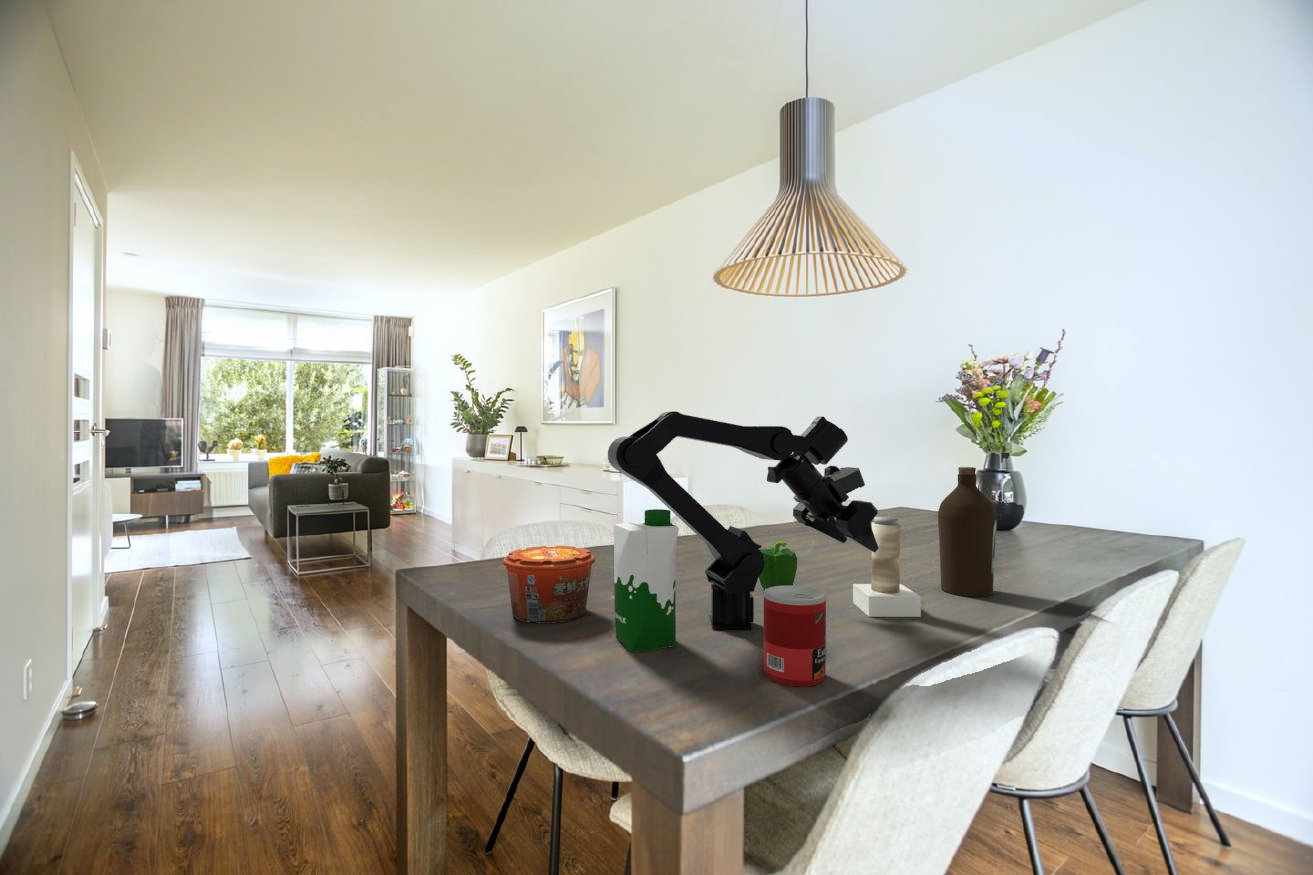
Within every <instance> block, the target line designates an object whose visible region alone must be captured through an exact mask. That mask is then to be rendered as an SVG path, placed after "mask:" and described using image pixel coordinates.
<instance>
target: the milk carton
mask: <svg viewBox="0 0 1313 875" xmlns="http://www.w3.org/2000/svg"><path fill="white" fill-rule="evenodd" d="M671 512H672V511H671V510H670V509H663V508H661V509H659V508H658V509H657V508H654V509H646V510H644V521H628V522H622V523H620V522H619V523H613V550H614V551H613V553H614V554H613V555H614V556H613V560H614V564H613V566H614V567H613V568H614V570H613V572H614V575H613V576H614V578H613V579H614V580H613V581H614V583H613V585H614V586H613V588H614V590H613V592H614V624H615V639H616V638H617V639H616V640H617V641H618V642H620V643H621V642H622V643H623V644H624V645H625V646H626V647H627V648H628V649H627V648H626V647H625V646H624V645H623V644H622V643H621V644H622V645H623V646H624V647H625V648H626V649H627V650H628V651H629V652H630V653H632V652H633V653H638V652H639V653H640V652H646V651H651V650H658V648H660V649H664V648H663V647H666V648H670V647H669V646H673V647H676V646H677V631H676V630H677V627H676V626H677V621H676V618H677V617H676V616H677V615H676V614H677V613H676V611H677V610H676V551H677V545H678V544H677V543H678V537H679V536H678V535H679V530H680V527H678V526H676V525H675V524H673V523H671V522H672V521H671V520H672V519H671V517H672V515H671Z"/></svg>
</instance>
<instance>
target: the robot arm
mask: <svg viewBox="0 0 1313 875" xmlns="http://www.w3.org/2000/svg"><path fill="white" fill-rule="evenodd" d="M676 438H683V439H688V440H694V441H699V442H704V443H710V444H715V445H721V446H727V447H732V448H734V449H738V450H739V451H741V452H744V453H745V454H748V455H749V456H753V457H756V458H758V459H761V460H768V461H769V460H770V461H779V462H778V463H777V464H776V465H775V466H768V467H767V475H766V482H767V483H773V484H780V482H781V481H783V483H784V484H785V485H786V486H787V487H788V489H789V490H790V491H791V492H792V493H793V494H794V496H793V497H792V499H793V500H794V501H795V502H796V505H795V506H794V508H792V517H794V519H795V520H796V521H797V522H798V523H799V524H803V525H804V527H807V528H810V529H812V530H814V531H816V532H819V533H821V534H823V535H825V536H827V537H829V538H831V539H832V540H835V541H838V542H840V543H842V544H845V543H846V542H847V541H848V540H850V541H852V542H854V543H856V544H858V545H859V546H861V547H863V548H865V549H866V550H869V551H870V552H871V553H872V552H876V551H877V550H878V548H879V547H878V545H877V542H876V539H875V536H874V534H873V531H872V521H874V517H877V515H879V509H878V508H877V507H876V506H875V505H874V504H873V503H872V501H864V500H859V499H858V500H856V499H855V500H851V501H850V502H849V504H848V505H844V504H843V503H846V501H847V500H848V499H849V498H850V496H849V495H848V494H850V493H852V492H853V491H855V490H858V489H859V488H863V487H864V486H866V484H865V480H864V477H863V475H862V472H861V470H860V468H859V467H851V466H846V467H840V468H839V467H838V466H837V465H829V466H826V467H825V468H824V470H823V473H824V475H823V474H821V472H820V471H819V470H818V468H816V467H815V465H816V466H818V465H820V464H821V465H824V466H825V465H827V464H828V463H829V462H830V461H831V460H832V459H833V458H834V457H835V456H836V454H838V452H839V451H840V450H841V449H842V448H843V447H844V446H845V445H846V444H847V442H848V440H849V438H848V435H847V434H846V432H845V431H844V430H843V429H842V428H840V427H838V425H836V424H835V423H833V422H832V421H829V420H827V418H826V417H825V416H824V415H823V416H816V417H815V418H814V419H813V420H812V422H811V423H810V425H809V426H808V427H807V428H806V429H805V430H804V431H803V432H802V433H801V434H800V435H799V434H798V435H797V434H793V433H792V430H791V429H790V428H788V427H786V426H780V425H777V426H775V425H774V426H773V425H763V426H762V425H757V426H755V425H751V426H750V425H747V426H746V425H740V424H733V423H730V422H724V421H720V420H719V421H718V420H714V419H710V418H704V417H699V416H693V415H688V414H683V413H681V412H679V411H666V412H662V413H661V414H660V415H658V417H656V418H655V419H654V420H652V421H651V422H649V423H647V424H645V426H643V427H641V428H639V429H638V430H636V431H635V432H632V434H630V435H629V436H620V437H617V438H615V440H613V441H612V442H611V443H610V445H609V447H608V451H607V460H608V463H609V464H610V465H611V467H612V468H613V469H615V470H616V471H618V472H620V473H621V474H623V475H624V476H626V477H627V478H629V479H631V480H632V481H634V482H635V483H637V484H639V485H640V486H642V487H644V488H646V489H647V490H648V491H650V493H652V494H653V495H654V496H655V497H656V498H657V499H658V500H659V501H660V502H661V503H663V505H665V507H667V509H668V510H670V511H671V512H672V513H673V514H674V515H675V516H676V517H677V518H678V519H680V520H681V521H682V522H683V523H684V525H686V526H687V527H688V529H690V530H691V531H692V532H694V534H696V535H697V536H698V537H699V538H700V539H701V540H702V541H703V542H704V543H705V545H706V546H707V548H708V550H709V552H710V553H711V555H712V558H714V561H712V562H711V563H710V564H709V566H708V567H707V568H706V569H705V571H704V574H705V576H706V579H707V581H708V583H711V584H710V614H709V621H710V625H711V628H712V629H714V630H752V629H753V625H752V623H754V620H755V608H754V607H755V602H754V601H755V598H754V596H753V595H752V594H751V593H753V592H754V591H755V589H756V586H757V583H758V580H759V576H760V575H761V573H762V571H763V569H764V565H765V557H764V554H763V553H762V552H761V551H760V550H759V549H762V545H761V544H759V543H756V542H755V541H754V540H753V538H751V536H750V535H749V533H748V532H747V531H746V530H744V529H741V528H738V527H734V526H733V525H730V526H729V527H728V528H726V527H725V526H724V525H722V523H720V522H719V520H717V519H716V518H715V517H714V515H712V514H711V513H710V511H708V510H707V509H706V508H704V506H702V505H701V503H699V502H698V501H697V500H696V499H695V498H694V497H693V496H692V495H691V494H690V493H689V492H688V491H687V490H686V489H685V488H683V487H682V486H681V485H680V484H679V483H678V482H677V481H676V480H675V479H674V478H673V477H672V476H671V475H670V474H669V473H668V472H667V470H666V469H665V466H664V464H663V463H662V461H661V458H659V456H658V455H657V454H659V453H660V452H662V451H663V450H664V449H665V448H666V447H667V446H668V445H669V444H670V443H671V442H672V441H674V439H676Z"/></svg>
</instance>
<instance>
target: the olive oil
mask: <svg viewBox="0 0 1313 875" xmlns="http://www.w3.org/2000/svg"><path fill="white" fill-rule="evenodd" d="M957 469H958V474H957V486H956V487H955V488H954V489H953V490H952V491H951V492H950V493H949V494H948V495H947V496H946V497H945V498H944V499H943V500H942V501H941V502H940V505H939V506H938V511H937V524H938V525H937V526H938V540H939V546H938V547H939V562H940V564H939V567H940V589H941V590H942V591H943V592H945V593H946V594H947V593H948V594H952V595H955V596H961V597H969V598H970V597H971V598H984V597H990V596H992V595H993V593H994V578H995V577H994V575H995V558H996V557H995V555H996V554H995V553H996V542H997V541H996V540H997V526H998V525H997V524H998V519H997V518H998V515H997V511H996V508H995V506H994V504H993V502H991V500H990V499H989V498H988V497H987V496H986V495H985V494H984V493H983V492H982V491H981V490H980V489H979V488H978V486H977V474H976V471H977V470H976V467H973V466H972V467H971V466H960V467H958V468H957Z"/></svg>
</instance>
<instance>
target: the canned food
mask: <svg viewBox="0 0 1313 875" xmlns="http://www.w3.org/2000/svg"><path fill="white" fill-rule="evenodd" d="M826 601H827V598H826V594H825V593H824V592H823V591H821V590H819V589H816V588H813V587H809V586H808V587H807V586H803V585H793V586H774V587H770V588H767V589H765V588H764V592H763V671H764V674H765V676H766V677H767V678H768V679H770V681H773V682H775V683H776V684H777V683H778V684H780V685H783V686H790V687H798V688H799V687H812V686H817V685H818V684H820V683H822V682H823V681H824V678H825V675H826V672H827V670H826V666H827V665H826V659H827V658H826V657H827V656H826V655H827V654H826V652H827V648H826V647H827V646H826V645H827V642H826V641H827V640H826V639H827V632H826V631H827V602H826Z"/></svg>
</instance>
